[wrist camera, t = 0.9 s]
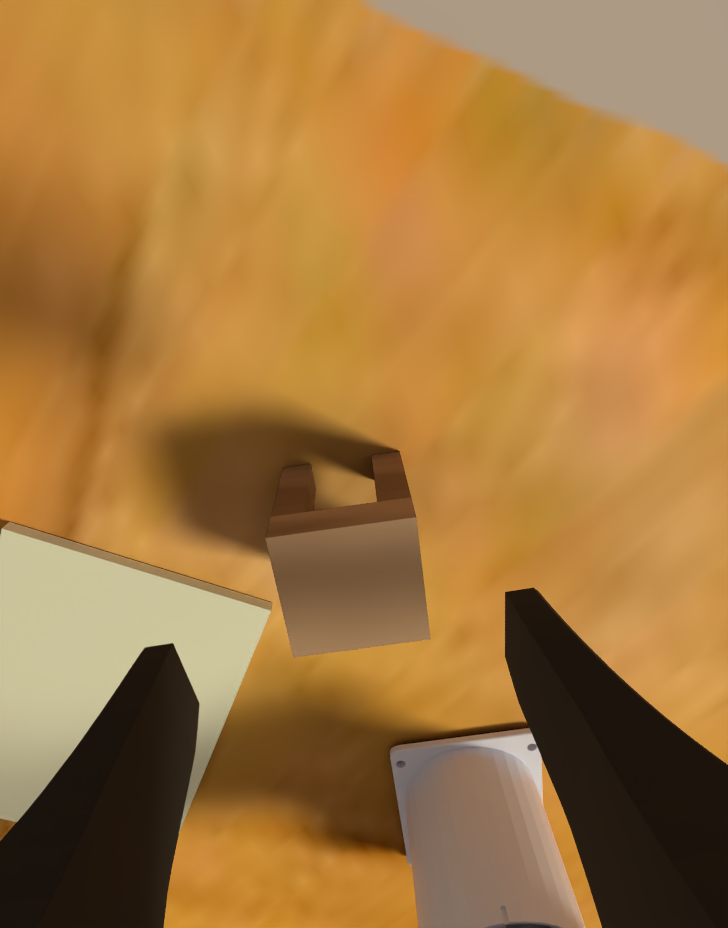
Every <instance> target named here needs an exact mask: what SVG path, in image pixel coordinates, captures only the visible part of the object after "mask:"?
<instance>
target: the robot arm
mask: <svg viewBox="0 0 728 928" xmlns="http://www.w3.org/2000/svg"><path fill="white" fill-rule="evenodd" d="M505 658H506V661H507V665H508V668H509V671H510V675H511V678H512V682H513V685H514V688H515V692H516V695H517V698H518V701H519V704H520V706H521V709H522V711H523V714H524V716H525V719H526V721H527V723H528V726H529V728H525V729H518V730H510V731H502V732H495V733H487V734H479V735H472V736H464V737H457V738H449V739H441V740H434V741H426V742H418V743H411V744H403V745H397V746H394V747H393V748H392V749H391V750H390V759H391V765H392V771H393V777H394V783H395V789H396V795H397V801H398V807H399V813H400V819H401V825H402V831H403V837H404V843H405V849H406V855H407V861H408V864H409V865H410V866H412V872H413V881H414V890H415V900H416V909H417V918H418V927H419V928H586V927H585V924H584V921H583V919H582V916H581V913H580V910H579V907H578V904H577V901H576V898H575V896H574V893H573V890H572V887H571V884H570V881H569V878H568V875H567V873H566V870H565V867H564V864H563V861H562V858H561V855H560V852H559V849H558V847H557V844H556V841H555V838H554V835H553V832H552V829H551V826H550V824H549V821H548V818H547V815H546V812H545V809H544V806H543V795H542V759H543V762H544V764H545V766H546V769H547V771H548V773H549V776H550V778H551V780H552V783H553V785H554V788H555V790H556V792H557V795H558V797H559V799H560V802H561V804H562V807H563V809H564V812H565V815H566V817H567V820H568V823H569V825H570V828H571V831H572V834H573V837H574V840H575V843H576V846H577V849H578V852H579V855H580V858H581V861H582V864H583V868H584V871H585V874H586V877H587V880H588V883H589V886H590V889H591V893H592V896H593V899H594V902H595V905H596V909H597V912H598V915H599V918H600V922H601V925H602V928H728V765H727V764H726V763H724V762H723V761H722V760H720V759H719V758H718V757H716V756H715V755H714V754H712V753H711V752H710V751H708V750H707V749H706V748H704V747H703V746H702V745H700V744H699V743H698V742H696V741H695V740H694V739H692V738H691V737H690V736H688V735H687V734H686V733H685V732H683V731H682V730H681V729H680V728H678V727H677V726H676V725H675V724H673V723H672V722H671V721H670V720H668V719H667V718H666V717H665V716H664V715H662V714H661V713H660V712H659V711H658V710H656V709H655V708H654V707H653V706H652V705H651V704H649V703H648V702H647V701H646V700H645V699H644V698H643V697H641V696H640V695H639V694H638V693H637V692H636V691H635V690H634V689H632V688H631V687H630V686H629V685H628V684H627V683H626V682H625V681H624V680H623V679H621V678H620V677H619V676H618V675H617V674H616V673H615V672H614V671H613V670H612V669H611V668H610V667H609V666H608V665H607V664H606V663H605V662H604V661H603V660H602V659H601V658H600V657H599V656H598V655H597V654H596V653H595V652H594V651H593V650H592V649H591V648H590V647H589V646H588V645H587V644H586V643H585V642H584V641H583V640H582V639H581V638H580V637H579V636H578V635H577V634H576V633H575V632H574V631H573V630H572V629H571V628H570V627H569V625H568V624H567V623H566V622H565V621H564V620H563V619H562V618H561V617H560V616H559V615H558V613H557V612H556V611H555V610H554V609H553V608H552V607H551V605H550V604H549V603H548V602H547V601H546V600H545V599H544V597H543V596H542V595H541V594H540V593H539V591H537V590H536V589H534V588H529V589H522V590H516V591H509V592H505ZM199 704H200V703H199V701H198V699H197V696H196V694H195V692H194V690H193V687H192V685H191V683H190V680H189V678H188V676H187V674H186V671H185V669H184V667H183V665H182V662H181V660H180V658H179V655H178V653H177V651H176V649H175V646H174V644H173V643H170V644H163V645H157V646H150V647H145V648H144V649H143V651H142V652H141V653H140V655H139V656H138V658H137V659H136V661H135V662H134V664H133V665H132V667H131V668H130V670H129V671H128V673H127V674H126V676H125V677H124V679H123V680H122V682H121V683H120V685H119V686H118V688H117V689H116V691H115V692H114V694H113V695H112V696H111V698H110V699H109V701H108V702H107V704H106V705H105V707H104V708H103V710H102V711H101V713H100V714H99V715H98V717H97V718H96V720H95V721H94V723H93V724H92V725H91V727H90V728H89V730H88V731H87V732H86V734H85V735H84V737H83V738H82V740H81V741H80V742H79V744H78V745H77V746H76V748H75V749H74V751H73V752H72V753H71V755H70V756H69V757H68V759H67V760H66V761H65V762H64V764H63V765H62V766H61V768H60V769H59V770H58V772H57V773H56V774H55V776H54V777H53V778H52V779H51V781H50V782H49V783H48V785H47V786H46V787H45V789H44V790H43V791H42V792H41V794H40V795H39V796H38V797H37V799H36V800H35V801H34V802H33V803H32V805H31V806H30V807H29V808H28V810H27V811H26V812H25V813H24V814H23V816H22V817H21V818H20V819H19V820H18V822H17V823H16V824H15V825H14V826H13V827H12V828H11V830H10V831H9V832H8V833H7V834H6V835H5V837H4V838H3V839H2V840H1V841H0V928H163V926H164V918H165V909H166V901H167V892H168V886H169V881H170V875H171V869H172V864H173V859H174V854H175V849H176V844H177V840H178V835H179V830H180V825H181V820H182V816H183V811H184V806H185V801H186V797H187V792H188V787H189V782H190V777H191V772H192V767H193V762H194V757H195V751H196V741H197V731H198V717H199ZM529 744H531V745H529ZM541 757H542V759H541ZM399 761H401V762H399Z"/></svg>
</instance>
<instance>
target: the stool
mask: <svg viewBox="0 0 728 928" xmlns="http://www.w3.org/2000/svg"><path fill="white" fill-rule="evenodd" d="M371 456H372V464H373V472H374V480H375V488H376V496H377V502H374V503H367V504H360V505H352V506H345V507H338V508H331V509H324V510H317V511H313V510H314V500H315V491H316V488H315V483H314V478H313V472H312V467H311V464H306V465H299V466H292V467H285V468H283V470H282V474H281V478H280V482H279V486H278V490H277V494H276V498H275V502H274V506H273V510H272V514H271V518H270V521H269V525H268V529H267V533H266V537H265V539H266V543H267V548H268V552H269V556H270V560H271V565H272V569H273V573H274V577H275V582H276V586H277V590H278V594H279V599H280V603H281V607H282V611H283V616H284V620H285V624H286V628H287V633H288V637H289V641H290V645H291V650H292V654H293V658H295V657H302V656H309V655H317V654H324V653H332V652H339V651H347V650H354V649H361V648H369V647H376V646H384V645H391V644H398V643H406V642H413V641H421V640H428V639H430V631H429V622H428V614H427V605H426V597H425V588H424V580H423V571H422V563H421V554H420V546H419V537H418V528H417V520H416V515H415V511H414V507H413V503H412V499H411V495H410V491H409V487H408V483H407V479H406V475H405V471H404V467H403V463H402V459H401V455H400V451H397V452H390V453H383V454H376V455H371Z"/></svg>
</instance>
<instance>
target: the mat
mask: <svg viewBox="0 0 728 928" xmlns="http://www.w3.org/2000/svg"><path fill="white" fill-rule="evenodd" d="M271 608H272V603H271V602H268V601H265V600H261V599H258V598H255V597H252V596H248V595H245V594H242V593H239V592H235V591H232V590H229V589H226V588H222V587H219V586H216V585H213V584H210V583H206V582H203V581H200V580H197V579H193V578H190V577H187V576H184V575H180V574H177V573H174V572H171V571H167V570H164V569H161V568H158V567H154V566H151V565H148V564H145V563H141V562H138V561H135V560H132V559H128V558H125V557H122V556H119V555H115V554H112V553H109V552H106V551H102V550H99V549H96V548H93V547H89V546H86V545H83V544H80V543H76V542H73V541H70V540H67V539H63V538H60V537H57V536H54V535H50V534H47V533H44V532H41V531H37V530H34V529H31V528H28V527H25V526H21V525H18V524H15V523H12V522H9V523H7V524H6V525H5V526H4V527H3V528H2V530H1V535H0V819H5V820H9V821H14V822H18V820H19V819H20V818H21V817H22V816H23V814H24V813H25V812H26V811H27V810H28V808H29V807H30V806H31V805H32V803H33V802H34V801H35V800H36V799H37V797H38V796H39V795H40V794H41V792H42V791H43V790H44V789H45V787H46V786H47V785H48V783H49V782H50V781H51V779H52V778H53V777H54V776H55V774H56V773H57V772H58V770H59V769H60V768H61V766H62V765H63V764H64V762H65V761H66V760H67V759H68V757H69V756H70V755H71V753H72V752H73V751H74V749H75V748H76V746H77V745H78V744H79V742H80V741H81V740H82V738H83V737H84V735H85V734H86V732H87V731H88V730H89V728H90V727H91V725H92V724H93V723H94V721H95V720H96V718H97V717H98V715H99V714H100V713H101V711H102V710H103V708H104V707H105V705H106V704H107V702H108V701H109V699H110V698H111V696H112V695H113V694H114V692H115V691H116V689H117V688H118V686H119V685H120V683H121V682H122V680H123V679H124V677H125V676H126V674H127V673H128V671H129V670H130V668H131V667H132V665H133V664H134V662H135V661H136V659H137V658H138V656H139V655H140V653H141V652H142V651H143V649H144V648H145V647H150V646H157V645H163V644H170V643H173V644H174V646H175V649H176V651H177V653H178V655H179V658H180V660H181V662H182V665H183V667H184V669H185V671H186V674H187V676H188V678H189V680H190V683H191V685H192V687H193V690H194V692H195V694H196V696H197V699H198V701H199V703H200V704H199V717H198V731H197V741H196V751H195V757H194V762H193V767H192V772H191V777H190V782H189V787H188V792H187V797H186V801H185V806H184V811H183V816H182V820H181V825H180V830H181V827H182V825H183V823H184V820H185V818H186V815H187V813H188V810H189V808H190V806H191V803H192V801H193V798H194V796H195V793H196V791H197V789H198V786H199V784H200V781H201V779H202V777H203V774H204V772H205V769H206V767H207V764H208V762H209V760H210V757H211V755H212V752H213V750H214V748H215V745H216V743H217V740H218V738H219V735H220V733H221V731H222V728H223V726H224V723H225V721H226V719H227V716H228V714H229V711H230V709H231V706H232V704H233V702H234V699H235V697H236V694H237V692H238V689H239V687H240V685H241V682H242V680H243V677H244V675H245V673H246V670H247V668H248V665H249V663H250V660H251V658H252V656H253V653H254V651H255V648H256V646H257V644H258V641H259V639H260V636H261V634H262V631H263V629H264V627H265V624H266V622H267V619H268V617H269V615H270V612H271ZM180 830H179V832H180Z"/></svg>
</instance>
